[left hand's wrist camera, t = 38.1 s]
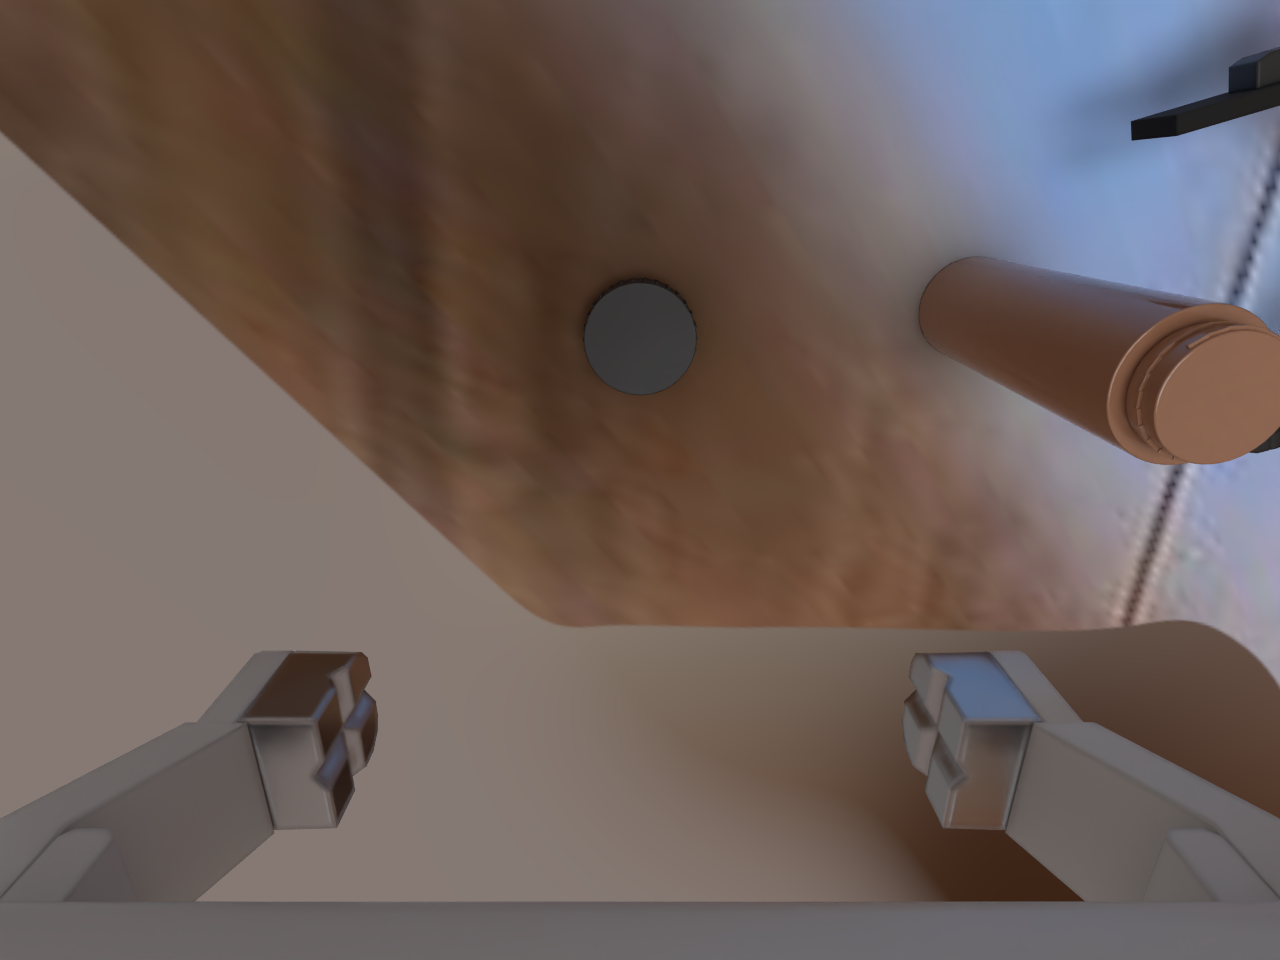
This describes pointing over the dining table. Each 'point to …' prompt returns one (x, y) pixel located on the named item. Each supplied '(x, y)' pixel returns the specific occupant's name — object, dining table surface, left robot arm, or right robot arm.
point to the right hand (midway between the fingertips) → (1154, 296)
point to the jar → (1113, 357)
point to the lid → (640, 337)
